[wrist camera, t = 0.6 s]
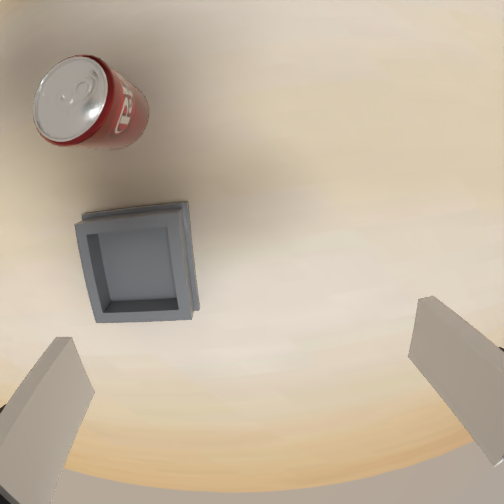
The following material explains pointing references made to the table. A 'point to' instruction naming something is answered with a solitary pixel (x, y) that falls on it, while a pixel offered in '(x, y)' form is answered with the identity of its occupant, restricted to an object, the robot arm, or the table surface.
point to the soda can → (89, 106)
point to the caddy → (139, 263)
